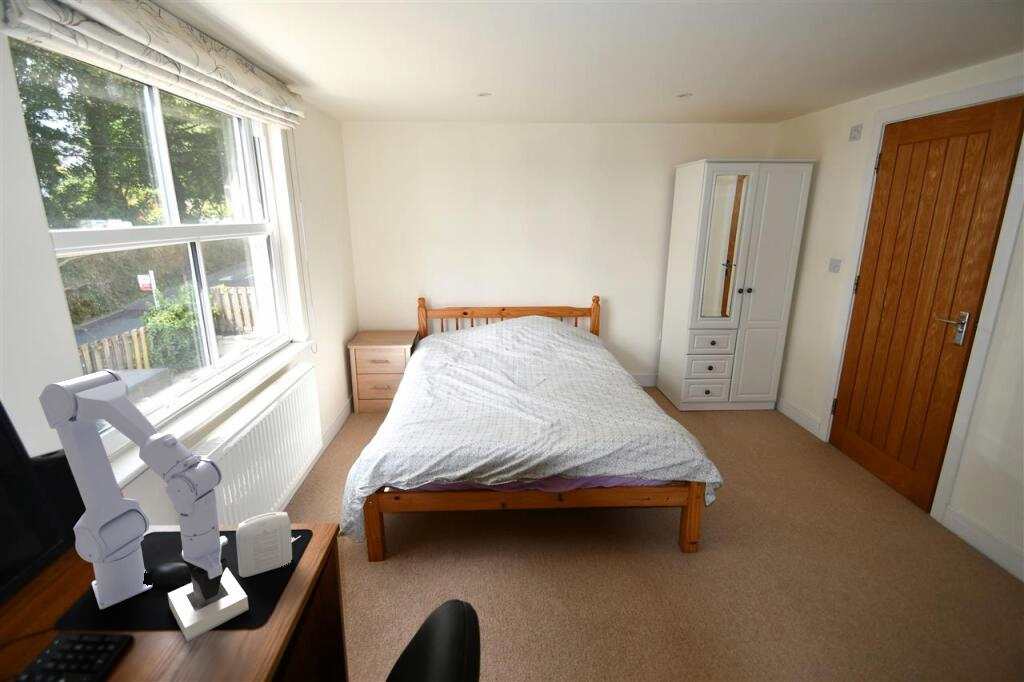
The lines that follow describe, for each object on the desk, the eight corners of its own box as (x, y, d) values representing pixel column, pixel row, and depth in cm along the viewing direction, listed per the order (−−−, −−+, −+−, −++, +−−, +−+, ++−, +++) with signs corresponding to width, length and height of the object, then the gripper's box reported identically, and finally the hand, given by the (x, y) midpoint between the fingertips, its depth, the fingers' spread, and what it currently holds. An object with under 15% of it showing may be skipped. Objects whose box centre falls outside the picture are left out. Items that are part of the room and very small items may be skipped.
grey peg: (192, 601, 88) (188, 569, 86) (216, 589, 90) (212, 559, 89) (199, 613, 85) (194, 581, 83) (223, 601, 88) (219, 569, 86)
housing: (169, 606, 88) (167, 593, 87) (228, 579, 95) (226, 566, 95) (187, 641, 81) (185, 627, 80) (248, 609, 88) (247, 596, 88)
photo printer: (291, 552, 104) (287, 503, 101) (294, 564, 101) (291, 514, 98) (238, 568, 98) (233, 517, 96) (239, 581, 95) (234, 529, 92)
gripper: (238, 535, 82) (244, 598, 86) (211, 501, 92) (217, 560, 95) (192, 553, 77) (200, 621, 80) (168, 516, 86) (176, 577, 90)
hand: (207, 589), depth 87 cm, fingers open, 4 cm apart
